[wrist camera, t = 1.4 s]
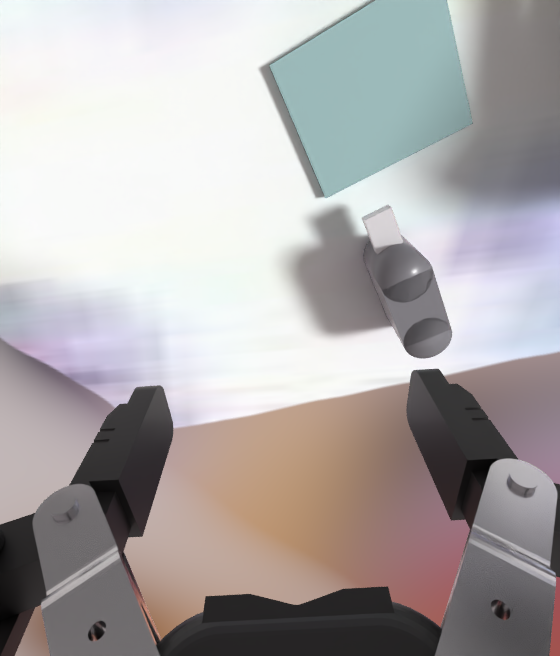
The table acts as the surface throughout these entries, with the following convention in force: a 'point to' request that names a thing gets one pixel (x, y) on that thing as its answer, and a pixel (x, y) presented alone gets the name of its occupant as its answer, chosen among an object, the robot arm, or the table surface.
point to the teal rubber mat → (374, 89)
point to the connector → (405, 287)
